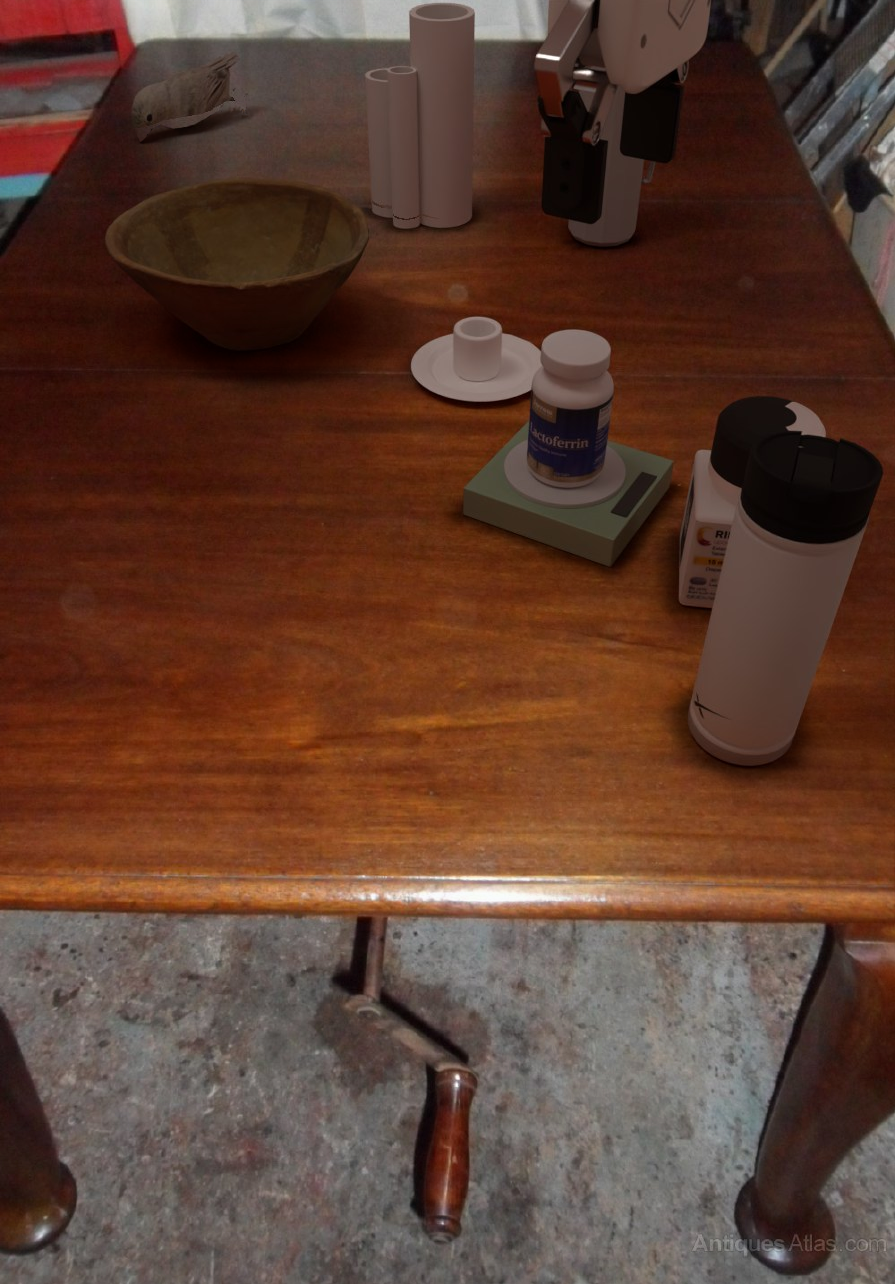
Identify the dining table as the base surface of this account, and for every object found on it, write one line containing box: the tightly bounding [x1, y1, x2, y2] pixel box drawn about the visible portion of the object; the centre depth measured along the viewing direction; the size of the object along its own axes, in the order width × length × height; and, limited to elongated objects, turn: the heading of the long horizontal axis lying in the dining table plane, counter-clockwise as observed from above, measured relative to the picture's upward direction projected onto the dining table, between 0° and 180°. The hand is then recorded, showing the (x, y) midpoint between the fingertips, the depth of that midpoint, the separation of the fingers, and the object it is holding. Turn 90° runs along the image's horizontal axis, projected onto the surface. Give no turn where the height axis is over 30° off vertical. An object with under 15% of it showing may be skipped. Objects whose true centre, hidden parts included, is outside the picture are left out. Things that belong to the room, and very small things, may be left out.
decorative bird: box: [131, 51, 248, 128], centre depth 135 cm, size 5×16×7 cm, turn 133°
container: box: [678, 395, 827, 609], centre depth 70 cm, size 8×8×13 cm
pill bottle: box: [527, 329, 615, 488], centre depth 75 cm, size 6×6×10 cm
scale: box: [462, 420, 675, 568], centre depth 79 cm, size 12×11×3 cm
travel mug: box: [687, 431, 884, 767], centre depth 57 cm, size 6×7×20 cm
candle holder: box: [410, 316, 542, 403], centre depth 92 cm, size 12×12×4 cm
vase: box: [364, 2, 476, 230], centre depth 111 cm, size 11×7×20 cm, turn 85°
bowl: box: [104, 177, 370, 352], centre depth 96 cm, size 22×23×10 cm
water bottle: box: [567, 66, 656, 248], centre depth 105 cm, size 9×8×25 cm
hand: (610, 186), depth 58 cm, fingers open, 9 cm apart
